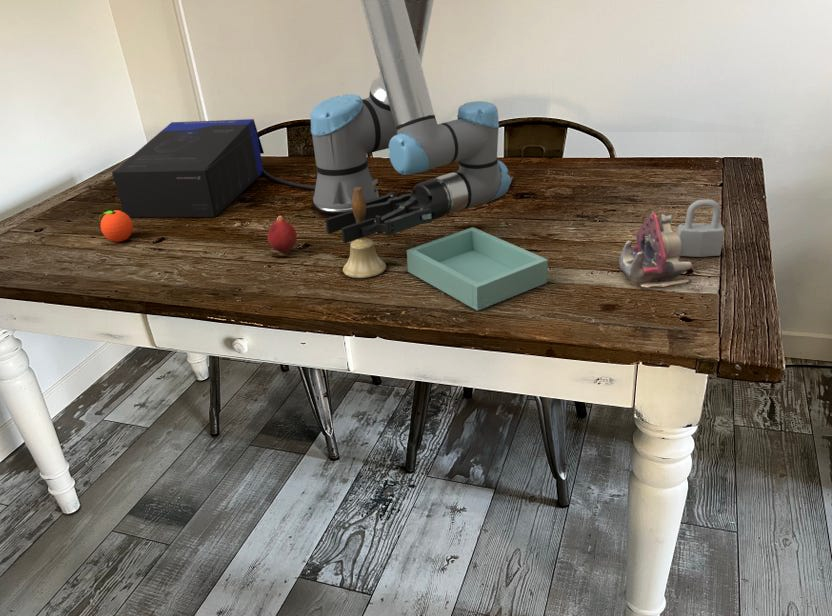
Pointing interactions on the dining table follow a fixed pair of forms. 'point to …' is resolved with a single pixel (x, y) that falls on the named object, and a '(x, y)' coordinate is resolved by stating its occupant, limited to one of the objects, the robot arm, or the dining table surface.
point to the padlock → (701, 232)
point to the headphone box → (190, 169)
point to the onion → (282, 235)
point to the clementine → (116, 225)
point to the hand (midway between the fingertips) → (335, 231)
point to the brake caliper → (654, 254)
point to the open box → (477, 267)
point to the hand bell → (362, 246)
